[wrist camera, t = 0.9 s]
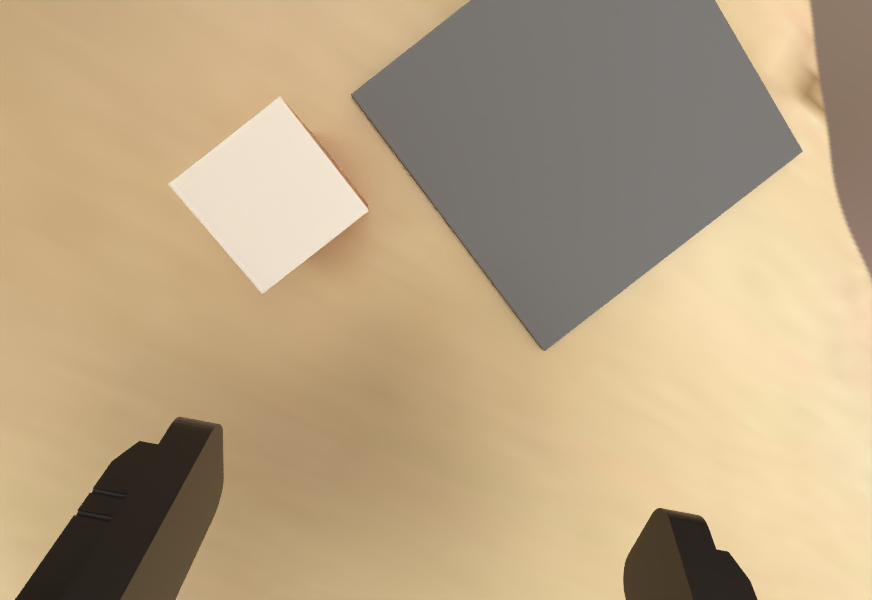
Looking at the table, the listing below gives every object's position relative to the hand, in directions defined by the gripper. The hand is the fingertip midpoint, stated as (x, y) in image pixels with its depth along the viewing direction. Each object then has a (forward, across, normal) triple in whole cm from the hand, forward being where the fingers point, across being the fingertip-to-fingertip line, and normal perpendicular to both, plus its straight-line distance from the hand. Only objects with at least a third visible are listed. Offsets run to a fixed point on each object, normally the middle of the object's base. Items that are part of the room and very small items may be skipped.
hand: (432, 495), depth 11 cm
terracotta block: (+21, +8, +5) cm, 23 cm away
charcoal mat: (+25, -6, -1) cm, 26 cm away
